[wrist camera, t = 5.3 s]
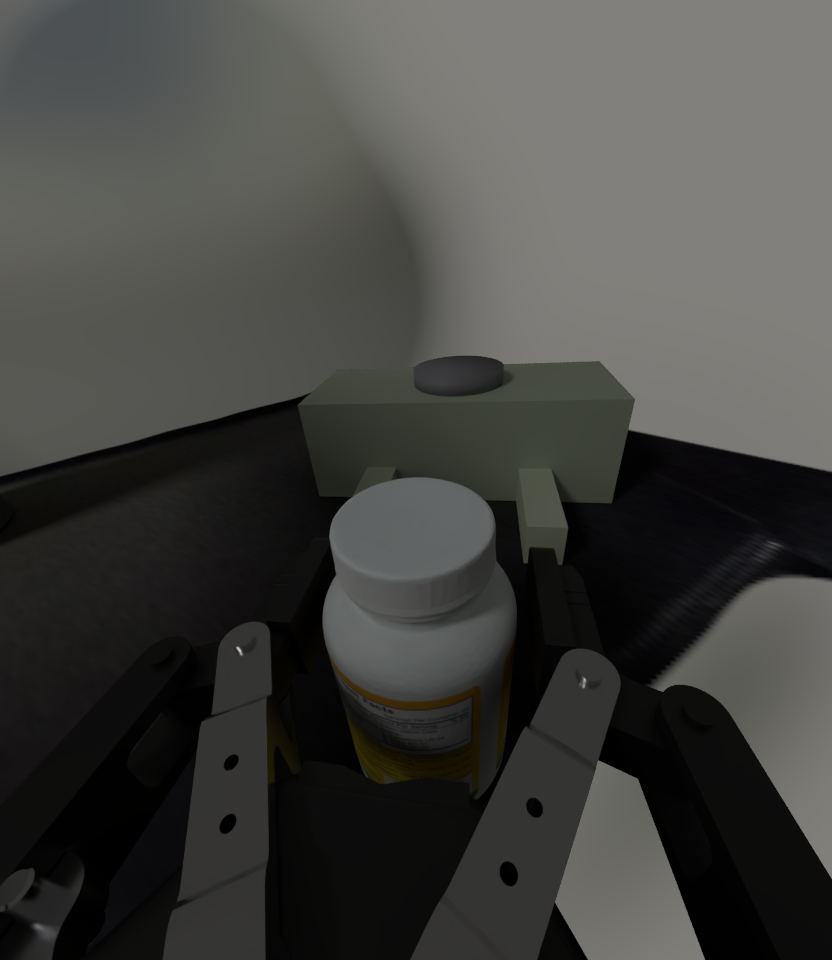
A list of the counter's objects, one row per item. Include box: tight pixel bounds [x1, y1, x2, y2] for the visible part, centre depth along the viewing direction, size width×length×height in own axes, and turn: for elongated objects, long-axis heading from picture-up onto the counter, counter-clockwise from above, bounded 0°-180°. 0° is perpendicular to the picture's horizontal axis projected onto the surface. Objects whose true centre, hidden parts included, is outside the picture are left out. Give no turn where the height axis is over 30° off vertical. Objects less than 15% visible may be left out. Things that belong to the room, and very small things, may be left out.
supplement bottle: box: [322, 477, 517, 800], centre depth 12 cm, size 5×5×10 cm
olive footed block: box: [298, 356, 635, 565], centre depth 26 cm, size 20×14×8 cm
